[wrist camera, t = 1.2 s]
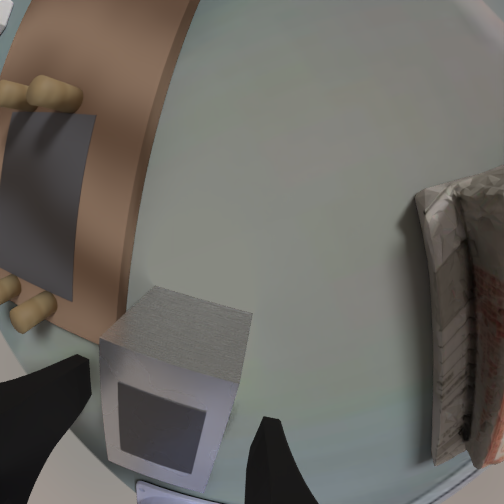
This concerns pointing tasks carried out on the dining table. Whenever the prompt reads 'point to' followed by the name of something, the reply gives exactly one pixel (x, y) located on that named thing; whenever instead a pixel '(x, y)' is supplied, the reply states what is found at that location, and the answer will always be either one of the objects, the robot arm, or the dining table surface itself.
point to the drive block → (171, 384)
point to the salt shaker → (5, 13)
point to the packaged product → (466, 314)
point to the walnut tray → (80, 153)
